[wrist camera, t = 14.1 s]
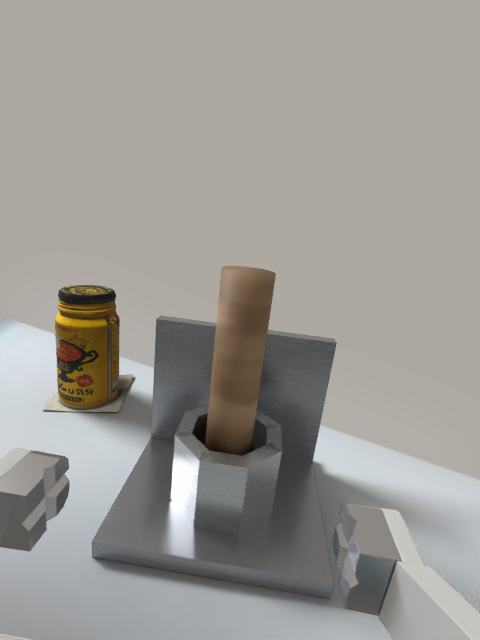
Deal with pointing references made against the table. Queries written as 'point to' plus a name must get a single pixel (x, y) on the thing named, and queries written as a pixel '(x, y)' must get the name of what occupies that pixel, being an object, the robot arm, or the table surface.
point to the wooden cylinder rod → (238, 357)
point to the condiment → (88, 352)
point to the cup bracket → (228, 471)
